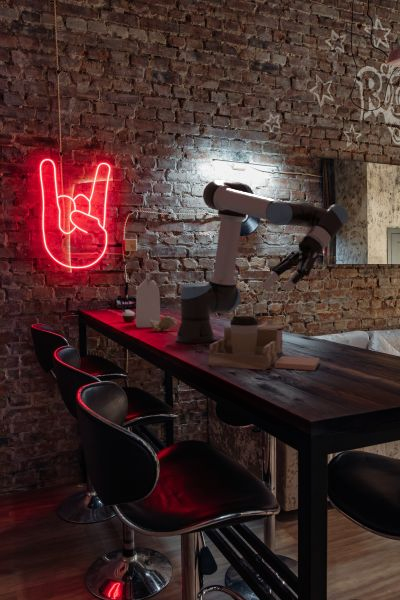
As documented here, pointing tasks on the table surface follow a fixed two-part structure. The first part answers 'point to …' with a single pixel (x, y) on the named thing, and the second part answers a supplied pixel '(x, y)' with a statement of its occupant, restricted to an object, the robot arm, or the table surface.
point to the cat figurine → (163, 323)
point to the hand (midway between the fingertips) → (274, 289)
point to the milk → (147, 303)
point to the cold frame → (261, 360)
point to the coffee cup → (244, 335)
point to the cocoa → (128, 314)
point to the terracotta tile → (297, 363)
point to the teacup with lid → (273, 325)
